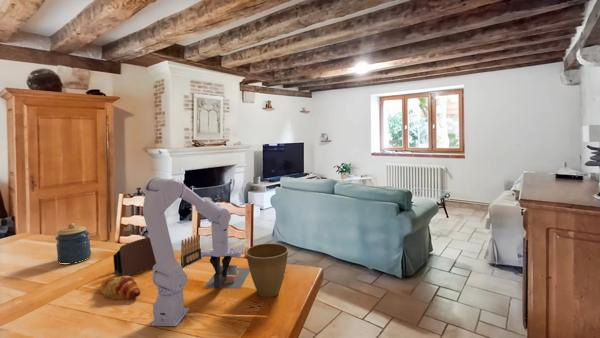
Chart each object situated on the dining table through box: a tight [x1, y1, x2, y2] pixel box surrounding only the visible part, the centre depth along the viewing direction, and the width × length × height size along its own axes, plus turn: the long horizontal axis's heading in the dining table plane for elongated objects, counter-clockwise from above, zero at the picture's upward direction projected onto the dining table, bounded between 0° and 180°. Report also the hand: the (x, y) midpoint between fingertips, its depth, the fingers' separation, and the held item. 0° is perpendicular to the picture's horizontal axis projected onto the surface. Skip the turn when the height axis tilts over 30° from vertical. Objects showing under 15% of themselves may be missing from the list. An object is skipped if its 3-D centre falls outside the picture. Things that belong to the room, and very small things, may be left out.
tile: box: [225, 271, 239, 283], centre depth 126 cm, size 2×7×7 cm
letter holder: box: [113, 236, 156, 277], centre depth 139 cm, size 10×20×14 cm, turn 137°
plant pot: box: [245, 242, 289, 298], centre depth 114 cm, size 15×15×16 cm
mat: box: [203, 267, 250, 290], centre depth 127 cm, size 18×14×1 cm
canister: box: [55, 222, 92, 264], centre depth 149 cm, size 13×13×18 cm
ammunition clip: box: [180, 233, 203, 268], centre depth 143 cm, size 11×2×12 cm, turn 153°
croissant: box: [100, 276, 141, 300], centre depth 116 cm, size 21×10×8 cm
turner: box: [213, 263, 238, 289], centre depth 119 cm, size 12×8×5 cm
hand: (222, 275), depth 118 cm, fingers closed on turner
